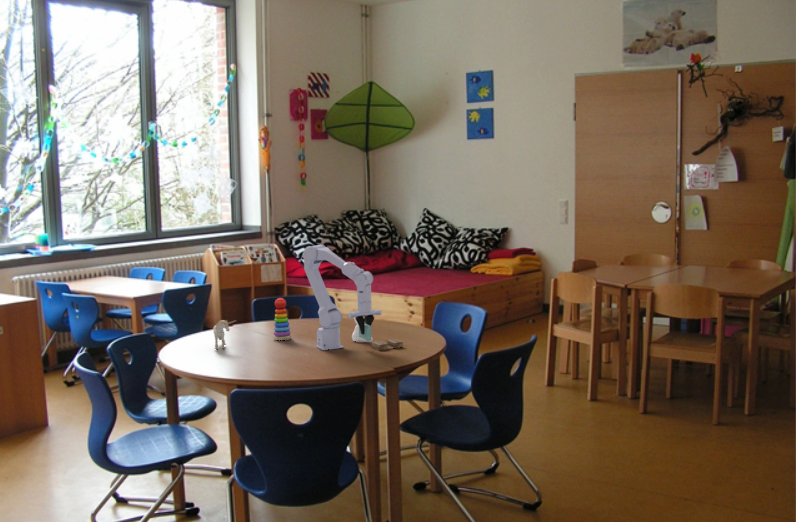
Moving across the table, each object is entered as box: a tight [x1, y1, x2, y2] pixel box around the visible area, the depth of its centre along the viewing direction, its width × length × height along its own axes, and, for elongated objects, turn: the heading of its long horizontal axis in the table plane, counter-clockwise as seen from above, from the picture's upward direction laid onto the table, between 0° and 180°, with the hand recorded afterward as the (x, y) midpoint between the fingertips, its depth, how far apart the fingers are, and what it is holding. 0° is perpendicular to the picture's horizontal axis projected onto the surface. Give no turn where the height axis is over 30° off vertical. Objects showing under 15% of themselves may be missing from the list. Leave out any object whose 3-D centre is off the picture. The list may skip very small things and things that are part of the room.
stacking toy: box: [273, 297, 292, 342], centre depth 338 cm, size 8×8×19 cm
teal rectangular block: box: [359, 324, 372, 341], centre depth 312 cm, size 2×9×6 cm, turn 26°
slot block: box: [371, 338, 404, 351], centre depth 318 cm, size 11×7×2 cm, turn 117°
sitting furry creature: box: [351, 317, 374, 343], centre depth 331 cm, size 10×9×12 cm
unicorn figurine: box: [212, 319, 237, 351], centre depth 322 cm, size 7×20×13 cm, turn 33°
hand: (365, 333), depth 313 cm, fingers closed on teal rectangular block, 2 cm apart
